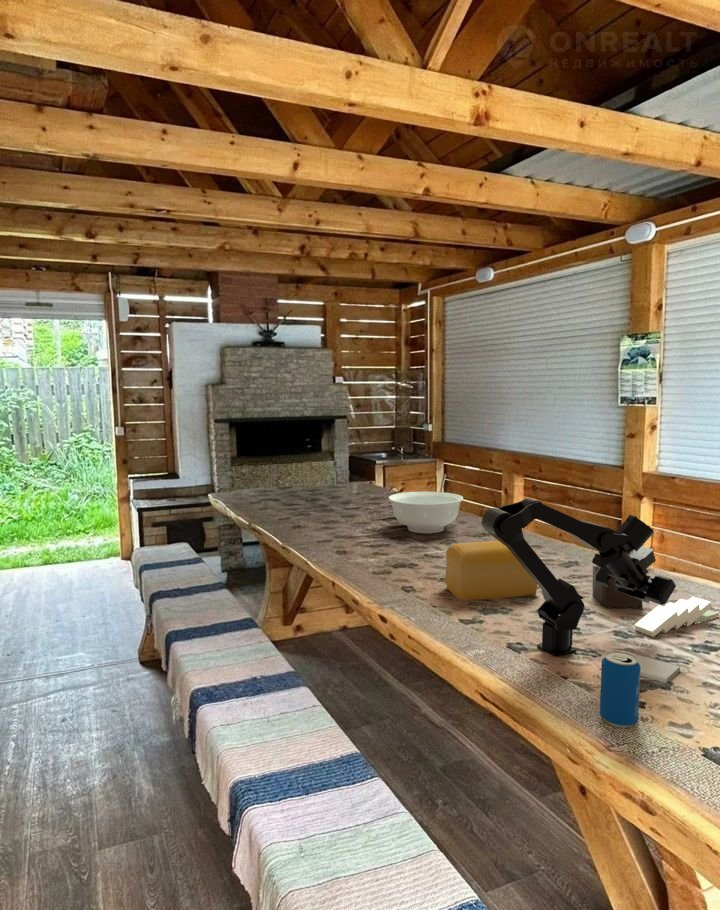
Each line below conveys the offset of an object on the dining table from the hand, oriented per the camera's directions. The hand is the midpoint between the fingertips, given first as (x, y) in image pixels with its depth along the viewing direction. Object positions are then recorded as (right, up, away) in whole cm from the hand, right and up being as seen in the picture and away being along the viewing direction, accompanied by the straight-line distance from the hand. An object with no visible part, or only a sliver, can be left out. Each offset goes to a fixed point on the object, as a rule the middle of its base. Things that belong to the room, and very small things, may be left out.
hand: (648, 601), depth 152 cm
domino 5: (+14, -7, +9) cm, 18 cm away
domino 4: (+11, -7, +7) cm, 15 cm away
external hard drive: (-10, -11, -18) cm, 23 cm away
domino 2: (+3, -7, +2) cm, 8 cm away
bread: (-32, -5, +34) cm, 47 cm away
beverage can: (-24, -12, -40) cm, 48 cm away
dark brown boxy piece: (+2, -6, +26) cm, 27 cm away
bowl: (-43, +3, +116) cm, 124 cm away
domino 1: (-1, -7, 0) cm, 7 cm away
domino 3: (+7, -7, +5) cm, 11 cm away
